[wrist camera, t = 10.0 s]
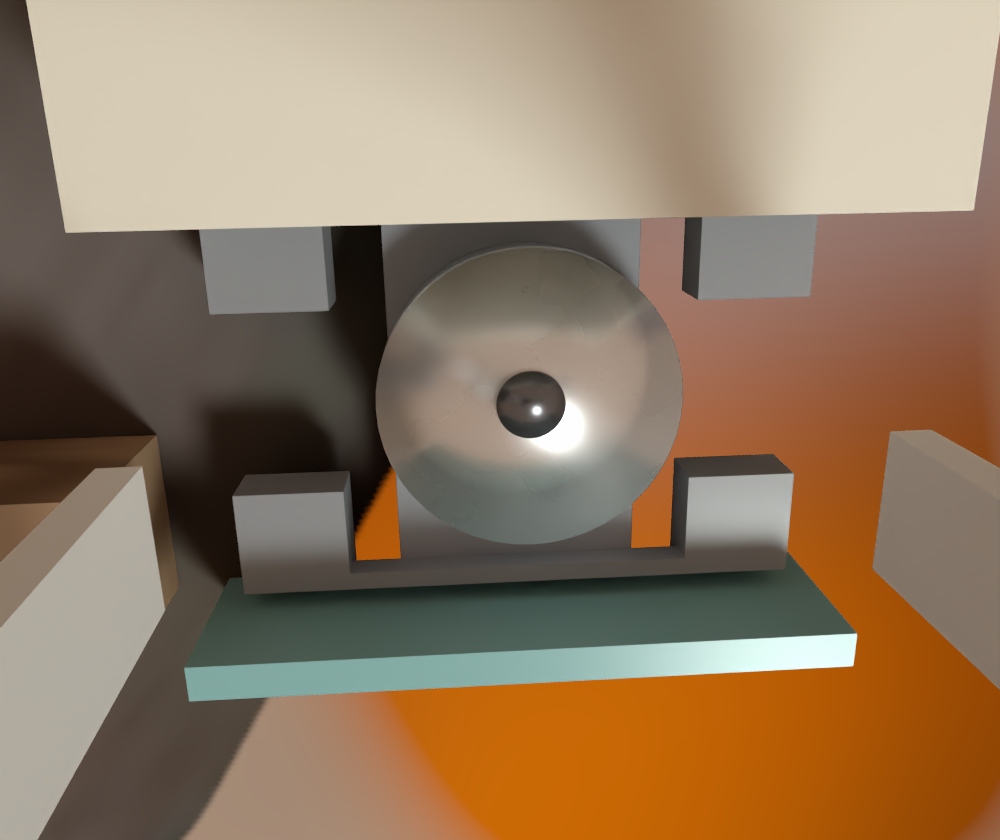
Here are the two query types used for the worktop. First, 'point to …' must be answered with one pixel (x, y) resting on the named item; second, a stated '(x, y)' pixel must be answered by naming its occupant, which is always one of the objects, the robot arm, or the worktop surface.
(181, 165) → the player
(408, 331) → the disc
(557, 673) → the teal grey flat block
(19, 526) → the block
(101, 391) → the worktop surface
